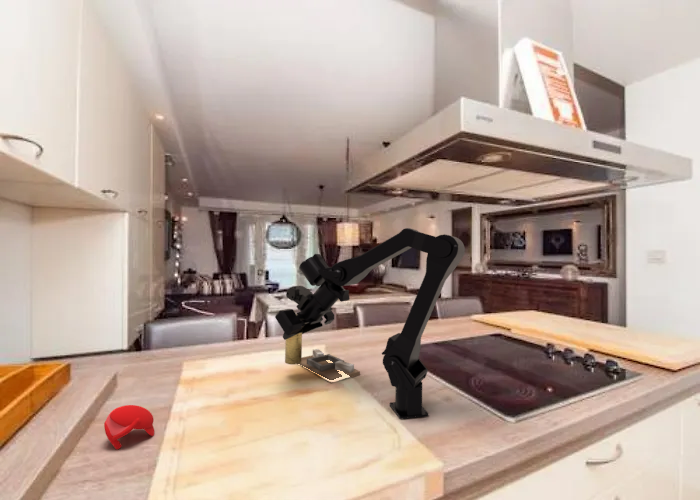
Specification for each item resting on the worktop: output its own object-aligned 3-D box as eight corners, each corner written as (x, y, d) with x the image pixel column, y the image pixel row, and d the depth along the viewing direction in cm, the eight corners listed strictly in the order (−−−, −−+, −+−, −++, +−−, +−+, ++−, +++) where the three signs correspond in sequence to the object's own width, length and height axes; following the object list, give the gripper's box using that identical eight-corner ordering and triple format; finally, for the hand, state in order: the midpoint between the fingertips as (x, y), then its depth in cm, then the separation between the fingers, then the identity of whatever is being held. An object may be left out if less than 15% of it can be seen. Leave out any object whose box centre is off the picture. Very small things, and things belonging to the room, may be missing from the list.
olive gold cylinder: (302, 363, 83) (303, 316, 84) (285, 364, 82) (286, 317, 83) (300, 358, 88) (301, 313, 88) (284, 359, 87) (285, 314, 87)
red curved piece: (95, 439, 50) (134, 413, 52) (98, 411, 54) (134, 389, 56) (127, 461, 54) (162, 437, 56) (127, 434, 58) (160, 413, 61)
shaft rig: (360, 374, 88) (360, 364, 88) (330, 383, 82) (331, 371, 82) (320, 356, 104) (321, 347, 104) (293, 362, 97) (294, 352, 97)
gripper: (326, 275, 92) (297, 309, 97) (281, 277, 76) (249, 318, 81) (349, 304, 87) (316, 338, 93) (306, 313, 71) (270, 354, 77)
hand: (289, 336), depth 86 cm, fingers closed on olive gold cylinder, 4 cm apart
